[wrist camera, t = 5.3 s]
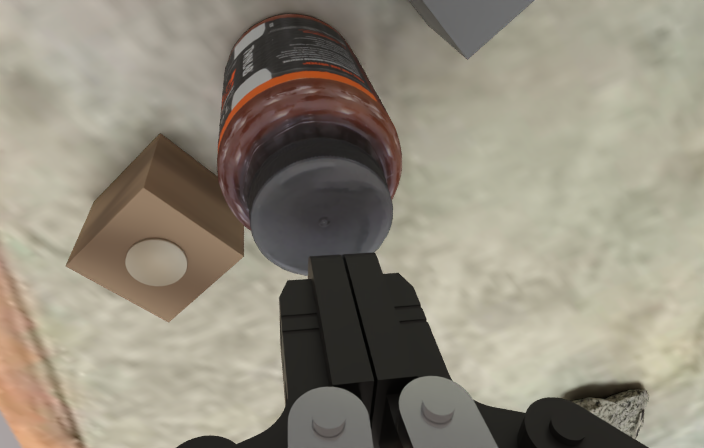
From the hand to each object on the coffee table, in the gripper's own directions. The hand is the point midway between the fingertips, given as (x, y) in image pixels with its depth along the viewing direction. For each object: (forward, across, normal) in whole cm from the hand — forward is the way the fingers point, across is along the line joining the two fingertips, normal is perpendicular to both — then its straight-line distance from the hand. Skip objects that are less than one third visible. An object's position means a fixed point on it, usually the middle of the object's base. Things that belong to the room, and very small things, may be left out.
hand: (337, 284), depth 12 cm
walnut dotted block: (+14, +6, +6) cm, 16 cm away
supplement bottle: (+14, 0, 0) cm, 14 cm away
